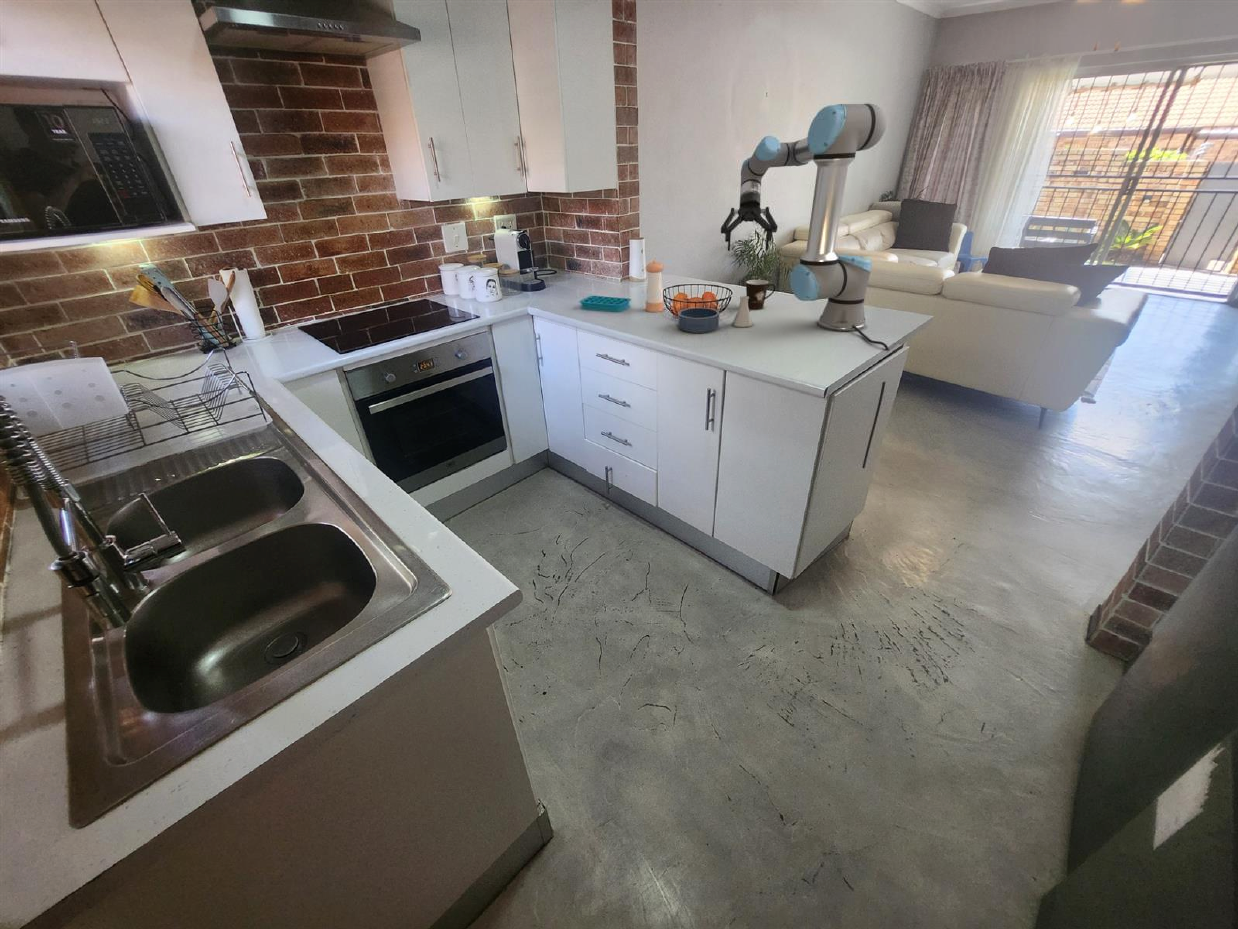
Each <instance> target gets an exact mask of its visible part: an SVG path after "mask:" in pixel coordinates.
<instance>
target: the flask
mask: <svg viewBox="0 0 1238 929" xmlns="http://www.w3.org/2000/svg"><path fill="white" fill-rule="evenodd" d="M739 299H740V300H739V301H740V302H739V306H738V309H737V312H736V314H735V317H734V319H733V321H732V325H733V326H734V327H738V328H739V327H740V328H745V327H751V326H752V325H753V320H752V317H751V314H750V309H748V299H749V297H748V296H746V295H741V296H740V297H739Z"/></svg>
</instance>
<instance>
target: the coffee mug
mask: <svg viewBox="0 0 1238 929" xmlns="http://www.w3.org/2000/svg"><path fill="white" fill-rule="evenodd" d="M770 286H772V287H773V290H772V291H771V293H769V294H768V295H767V291H768V288H769V287H770ZM745 289H746V290H745V292H746V295H745V296H748V297H749V299H748V309H749V310H751V311H759V310H763V309H764V305H765V301H766V300H767V299H768V298H769V297H771V296H772V295H773V294H774V293H775V291H776V285H775V284H774V283H769V280H765V279H750V280H747V281H745Z"/></svg>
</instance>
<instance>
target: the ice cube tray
mask: <svg viewBox="0 0 1238 929" xmlns="http://www.w3.org/2000/svg"><path fill="white" fill-rule="evenodd" d="M631 301H632V298H627V297H617V296H616V297H615V296H602V295H590V296H588V297H585V298H583V299H581V300H579V301H578V303H580V304H581V309H582V310H592V311H602V312H612V313H620V312H622V311H624V310H626V309H627V308H629V307H630V302H631Z"/></svg>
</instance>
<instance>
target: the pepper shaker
mask: <svg viewBox="0 0 1238 929" xmlns="http://www.w3.org/2000/svg"><path fill="white" fill-rule="evenodd" d="M664 269H665V268H664V264H663V263H661V262H657V260H653V261H652V262H649V263H648V264H646V267H645V270H646V272H647V288H646V300H645V310H646V311H647V312H649V313H659V312H663V311H664V310H665V307H664V306H665V302H664V289H663V284H662V283H663V282H662V275H663V274H662V272H663V271H664Z"/></svg>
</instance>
